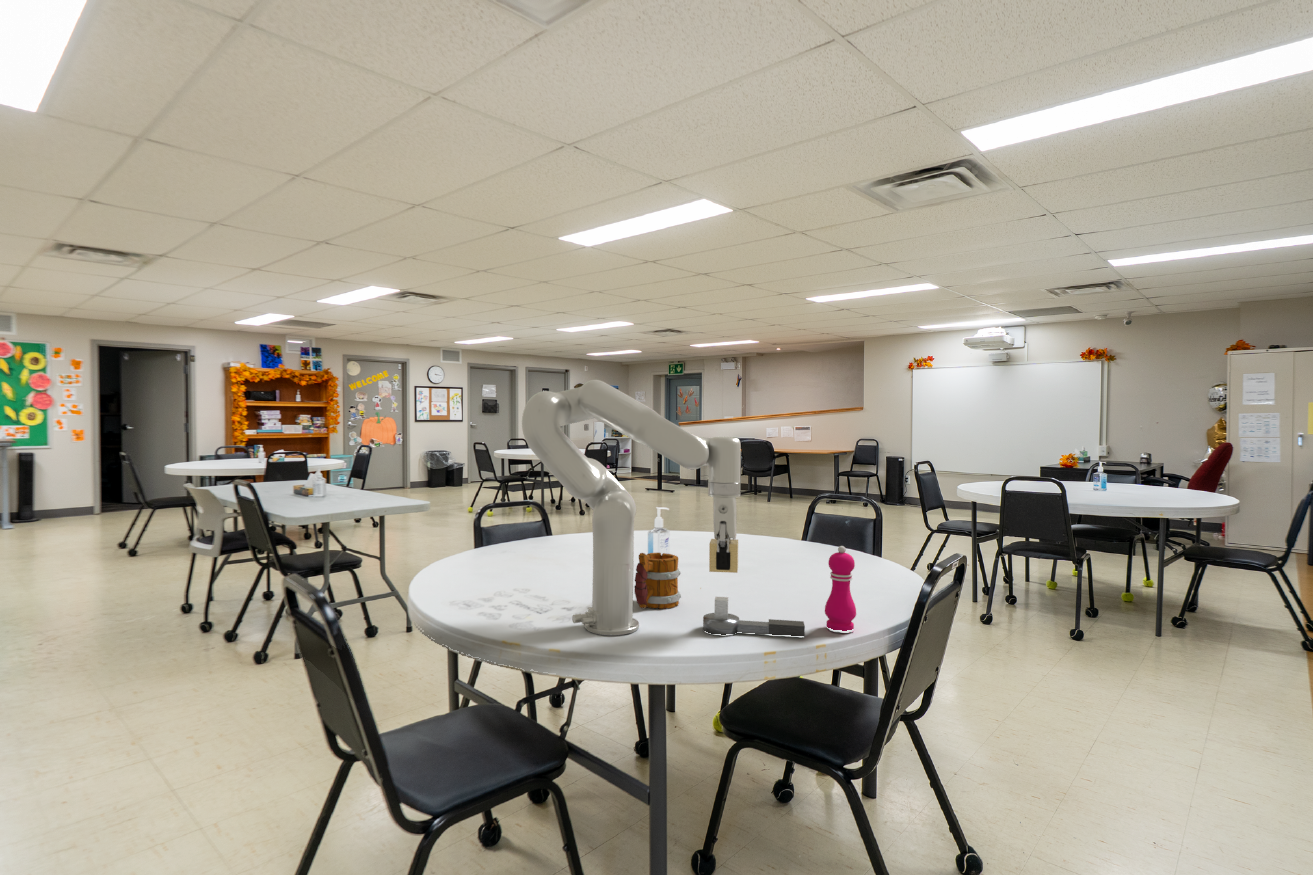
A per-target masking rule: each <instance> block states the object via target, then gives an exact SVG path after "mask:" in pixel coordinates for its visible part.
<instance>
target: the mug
mask: <svg viewBox="0 0 1313 875" xmlns="http://www.w3.org/2000/svg"><path fill="white" fill-rule="evenodd" d="M635 571H636V572H635V577H634V583H635V584H634V585H633V592H634V595H635V599H636V603H637V604H638V605H639V608H640V609H646V608H648V609H653V608H655V610H656V608H658V609H659V610H663V609H666V608H668V609H674V608H675V607H679V605H678V604H680V602H679V600H680V599H681V598H682V595H681V593H680V591H679V590H678V589H679V584H678V583H679V582H678V581H679V579H678V578H679V576H680V575H681V574H682V573H681V571H680V569H679V557H678V556H677V555H675V554H671V553H665V552H664V553H661V552H650V553H647V554H646V553H645V552H640V553H639V554H638V563H637V565H636V568H635Z"/></svg>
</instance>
